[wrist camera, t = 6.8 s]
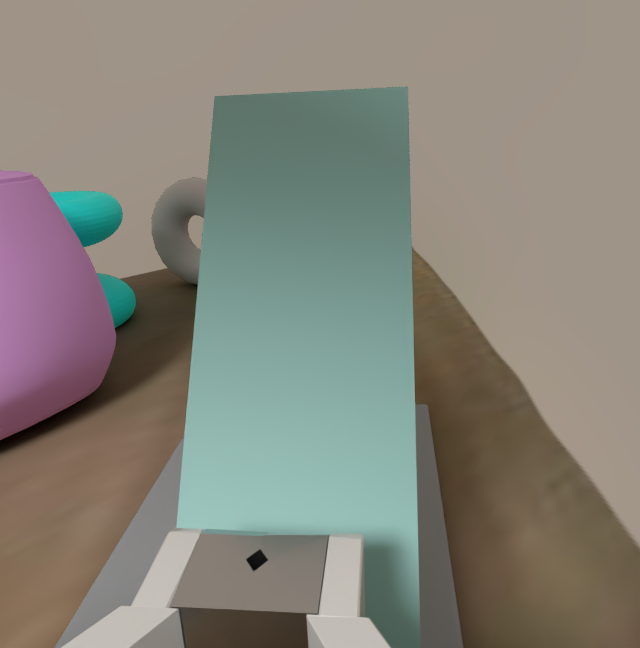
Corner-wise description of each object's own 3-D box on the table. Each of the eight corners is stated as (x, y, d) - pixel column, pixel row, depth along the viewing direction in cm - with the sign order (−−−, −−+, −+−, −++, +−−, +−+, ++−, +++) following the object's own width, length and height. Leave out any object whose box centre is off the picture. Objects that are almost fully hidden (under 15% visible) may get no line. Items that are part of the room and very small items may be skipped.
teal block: (428, 988, 9) (408, 86, 14) (138, 956, 9) (214, 96, 14) (414, 832, 13) (403, 187, 18) (215, 816, 14) (254, 192, 18)
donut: (260, 283, 56) (251, 175, 53) (242, 294, 53) (231, 179, 50) (173, 277, 60) (159, 175, 57) (151, 286, 57) (135, 179, 54)
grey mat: (477, 762, 15) (478, 750, 14) (14, 730, 16) (10, 719, 16) (427, 411, 31) (427, 404, 31) (204, 409, 33) (203, 402, 33)
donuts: (110, 185, 50) (128, 198, 42) (128, 299, 54) (148, 332, 45) (-24, 197, 46) (-34, 213, 38) (4, 318, 50) (1, 359, 41)
